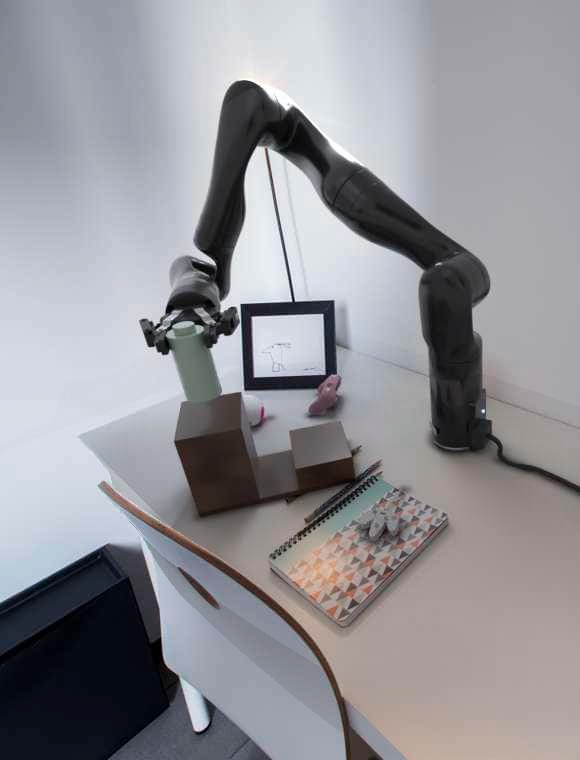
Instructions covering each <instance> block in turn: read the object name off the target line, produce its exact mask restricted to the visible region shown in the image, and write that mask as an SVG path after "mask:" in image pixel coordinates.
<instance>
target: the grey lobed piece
mask: <svg viewBox="0 0 580 760" xmlns="http://www.w3.org/2000/svg"><path fill="white" fill-rule="evenodd" d="M404 490H405V488H404V487H402V488H401V489H400V490H399V492H398V494H397V497H396V498H395V500H392V501H391V502H390V503H389V504H388V507H387V509H386V510H385V509H380V508H379V509H378V508H373V509H368V510H366V511H365V512H364V513H363V515H362V516H361V518H359V525H360V527H361V529H362V530H367V529H368V528H369V532H368V535H369V538H370V539H369V540H370V541H371V542H372V543H373V542H376V541H378V540H379V538H380V537H381V535H382V534H383V532H384V531H385V530H386V527H387V530H388V533H389V535H390V536H397V534H398V532H399V528H400V518H399V516H398V515H397V514H396V513H394V512H392V511H389V508H390V506H391V505H392V504H393V503H395V502H396V501H397V500H398V498H399V496H400V494H401V491H404Z"/></svg>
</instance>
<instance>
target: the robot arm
mask: <svg viewBox="0 0 580 760" xmlns="http://www.w3.org/2000/svg"><path fill="white" fill-rule="evenodd" d="M257 148H263V149H268V150H271V151H273V152H275V153H277V154H278V155H280V156H282V157H283V158H284V159H286V160H287V161H288V162H290V163H291V164H292V165H294V166H295V167H296V168H297V169H298V170H299V171H301V173H303V174H304V175H305V176H306V178H307V179H308V180H309V182H310V184H311V185H312V188H313V189H314V191H315V193H316V195H317V196H318V199H319V200H320V201H321V203H322V204H323V206H324V207H325V208H326V209H327V210H328V211H329V213H331V214H332V215H333V216H334V217H335V218H336V219H338V220H339V221H340V222H341V223H342V224H343V225H345V227H347V228H348V229H349V230H350V231H351V232H352V233H354V234H355V235H356V236H358V237H360V238H362V239H364V240H366V241H368V242H370V243H372V244H374V245H376V246H379V247H381V248H384V249H387V250H389V251H391V252H394V253H396V254H398V255H401V256H402V257H404V258H406V259H407V260H410V261H411V262H412V263H413V264H415V265H416V266H417V267H418V268H419V269H420V270H422V271H423V272H422V273H421V275H420V278H419V281H418V286H417V287H418V288H417V290H418V291H417V293H418V294H417V297H418V300H417V301H418V309H419V318H420V327H421V328H420V329H421V334H422V338H423V341H424V342H425V344H426V347H427V359H428V361H427V362H428V379H429V381H428V382H429V397H430V416H431V417H430V418H431V420H429V421H428V422H429V427H430V429H431V441H432V442H433V444H434V445H435V446H436V447H438V448H439V449H442V450H444V451H449V452H465V451H477V449H483V450H484V449H485V448H486V445H487V444H488V442H489V441H492V442H493V443H494V444H495V445H496V446H497V450H496V455H497V457H498V459H499V460H500V461H501V462H502V463H503V464H505V465H506V466H508V467H509V466H510V467H513V468H516V469H520V470H525V471H530V472H531V471H532V472H534V473H537V474H539V475H541V476H545V477H546V478H548V479H551V480H553V481H555V482H557V483H559V484H560V485H561V484H562V485H564V486H566V487H568V488H570V489H572V490H574V491H575V492H577V493H579V494H580V485H578V484H576V483H573V482H572V481H569V480H568V479H566V478H563V477H561V476H559V475H557V474H555V473H553V472H551V471H548V470H546V469H544V468H542V467H538V466H536V465H532V464H526V463H518V462H514V461H511V460H509V459H508V458H506V457H505V456H504V454H503V452H504V451H503V450H504V445H503V443H502V442H501V440H500V439H499V438H498V437H497V436H495V435H494V434H493V420H492V419H487V389H486V388H483V359H484V358H483V357H484V355H483V349H484V348H483V346H484V345H483V344H484V343H483V338H482V336H481V334H480V332H479V333H478V332H477V331H476V330H474V324H473V309H474V308H476V307H477V306H478V305H479V304H481V303H482V302H483V301H484V300H485V299H486V298H487V297H488V295H489V293H490V290H491V285H492V284H491V282H492V281H491V276H490V273H489V271H488V268H487V267H486V265H485V264H484V263H483V261H482V260H481V259H480V258H479V257H478V256H477V255H475V254H474V253H473V252H471V251H470V250H468V249H467V248H466V247H465V246H463V245H461V244H460V243H458V242H457V241H456V240H454V239H452V238H451V237H450V236H448V235H447V234H445V233H444V232H442V231H441V230H440V229H439V228H437V227H436V226H435V225H434V224H433V223H431V222H429V221H428V220H427V219H426V218H425V217H424V216H423V215H421V213H420V212H418V211H417V210H416V209H415V208H413V207H412V205H410V204H409V203H408V202H407V201H406V200H404V199H403V198H402V197H400V195H398V193H396V192H395V191H394V190H393V189H392V188H391V187H390V186H389V185H388V184H386V183H385V181H383V180H382V179H381V178H379V176H377V174H375V173H374V172H373V171H372V170H370V169H369V168H368V167H367V166H365V164H363V163H362V162H360V161H359V160H358V159H357V158H356V157H354V156H353V155H352V154H350V153H349V152H348V151H347V150H346V149H344V148H343V147H342V146H340V145H339V144H337V143H336V142H334V141H333V140H332V139H330V138H329V137H328V136H327V135H326V134H325V133H324V132H323V131H322V130H321V129H320V128H319V127H318V126H317V125H316V124H315V123H314V122H313V121H312V120H311V118H310V117H309V116H308V115H307V114H306V113H305V112H304V111H303V110H302V109H301V108H300V107H299V105H297V104H296V102H294V101H293V100H292V98H291V97H289V96H288V95H287V94H286V93H284V92H283V91H281V90H279V89H278V88H274V87H272V86H269V85H267V84H264V83H261V82H259V81H255V80H253V79H248V78H243V79H242V78H241V79H238V80H235V81H233V83H232V84H230V86H229V87H228V88H227V89H226V91H225V94H224V96H223V100H222V103H221V107H220V112H219V117H218V124H217V132H216V139H215V143H214V149H213V158H212V163H211V172H210V177H209V182H208V187H207V192H206V195H205V198H204V202H203V205H202V208H201V211H200V213H199V217H198V219H197V223H196V225H195V229H194V232H193V235H192V243H193V246H194V247H195V248H196V250H198V251H199V252H200V253H202V254H203V255H205V256H206V257H208V258H210V259H211V260H212V261H213V262H214V264H213V263H212V262H209V261H206V260H203V259H201V258H198V257H196V256H192V255H190V254H181V255H179V256H177V257H175V258H174V260H173V261H172V262H171V264H170V266H169V270H168V282H169V286H170V289H171V292H170V295H169V298H168V300H167V302H166V306H165V309H164V315H162V316H161V317H160V318H159V320H158V321H157V320H156V321H153V320H152V319H151V320H149V318H146V317H145V318H141V319H140V320H138V323H139V326H140V328H141V331H142V334H143V337H144V340H145V343H146V345H147V347H148V348H155V350H156V352H157V353H158V354H159V353H161V355H162V356H168V355H169V354H170V352H171V351H170V348H169V345H168V342H167V339H166V333H167V332H169V331H170V330H172V329H173V328H172V326H173V325H174V324H177V323H180V322H185V321H191V322H194V324H195V325H199V326H203V327H204V332H203V336H204V340H205V343H206V347H207V349H208V348H210V349H213V348H214V345H217V344H218V342H219V339H220V338H221V337H220V336H221V335H223V336H224V337H230V336H232V335H233V334H234V332H235V331H236V330H237V328H238V327H239V325H240V323H241V320H240V315H239V312H238V308H237V306H230V307H228V308H227V309H225V310H223V311H222V312H221V307H222V305H221V303H223V301H225V300H226V299H227V298H228V297H229V295H230V291H231V285H232V263H233V257H234V254H235V253H234V252H235V250H236V246H237V243H238V242H239V239H240V236H241V233H242V231H243V228H244V226H245V222H246V215H247V200H246V199H247V198H246V187H245V186H246V175H247V174H246V173H247V169H248V166H249V165H250V161H251V158H253V155H254V153H255V151H256V149H257Z"/></svg>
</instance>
